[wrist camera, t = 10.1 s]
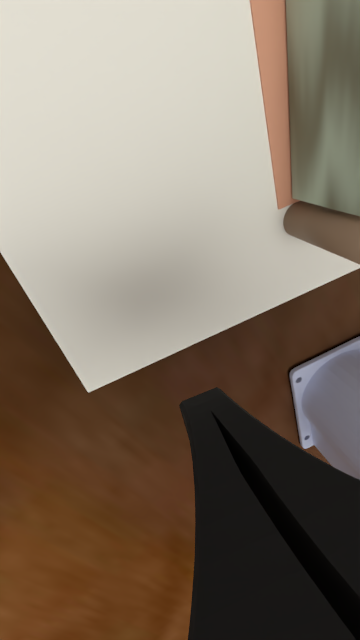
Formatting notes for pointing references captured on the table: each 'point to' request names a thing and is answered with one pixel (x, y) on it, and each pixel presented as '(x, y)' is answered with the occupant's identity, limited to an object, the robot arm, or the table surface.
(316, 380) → the robot arm
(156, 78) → the card
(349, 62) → the fence panel
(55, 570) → the table surface
